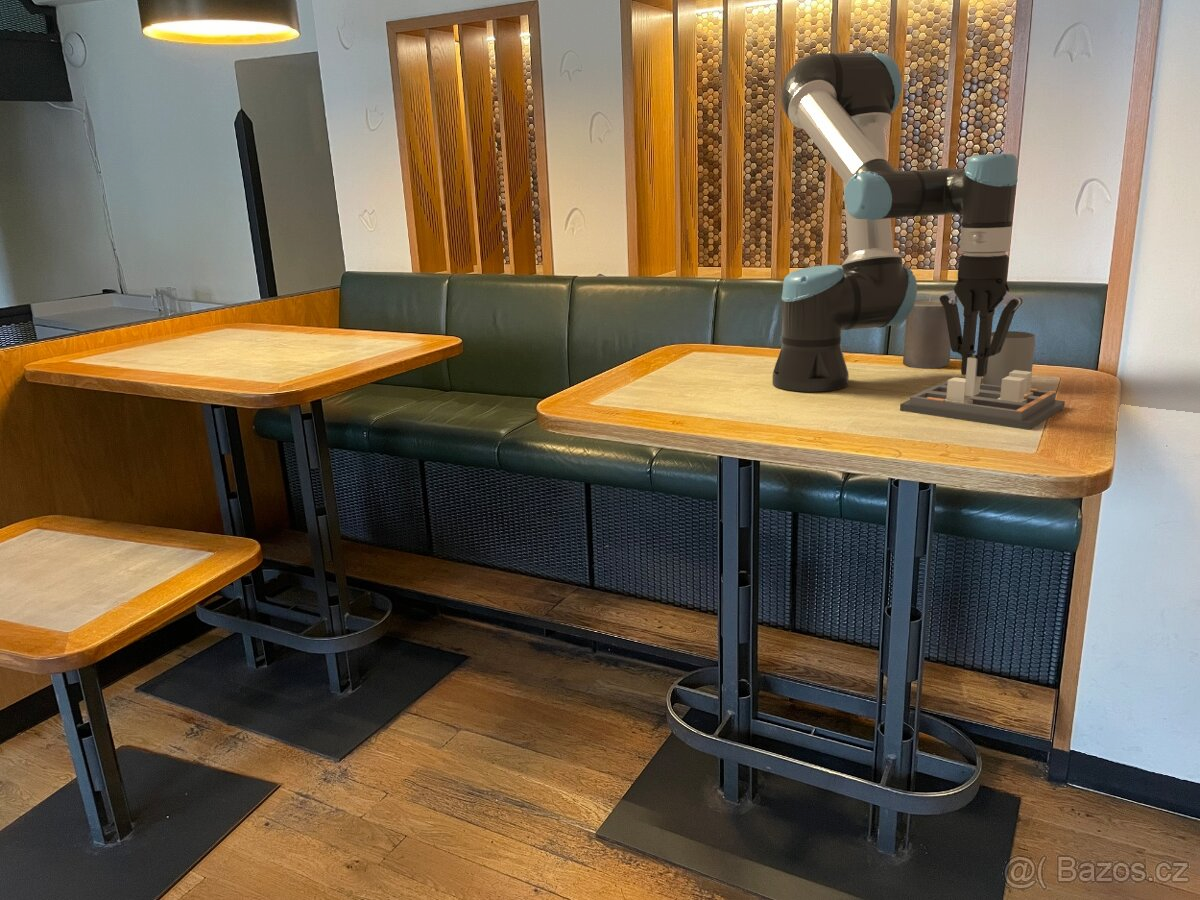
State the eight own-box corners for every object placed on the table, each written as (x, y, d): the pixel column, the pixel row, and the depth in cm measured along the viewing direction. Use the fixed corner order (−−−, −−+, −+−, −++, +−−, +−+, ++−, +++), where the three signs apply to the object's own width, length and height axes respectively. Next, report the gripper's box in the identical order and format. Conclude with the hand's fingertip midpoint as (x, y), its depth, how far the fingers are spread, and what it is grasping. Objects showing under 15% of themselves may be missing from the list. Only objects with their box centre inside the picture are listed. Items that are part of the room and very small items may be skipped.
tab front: (942, 406, 150) (944, 379, 149) (949, 403, 152) (951, 376, 151) (965, 410, 148) (967, 382, 146) (972, 406, 150) (974, 379, 148)
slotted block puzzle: (899, 410, 154) (900, 395, 154) (940, 391, 166) (941, 377, 165) (1029, 429, 140) (1031, 412, 139) (1064, 407, 151) (1066, 392, 150)
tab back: (1003, 398, 154) (1005, 372, 152) (1009, 395, 155) (1011, 369, 154) (1027, 401, 151) (1029, 375, 149) (1032, 398, 153) (1035, 372, 151)
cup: (1034, 390, 163) (1040, 338, 161) (988, 390, 165) (993, 338, 162) (1023, 380, 171) (1028, 330, 168) (979, 380, 173) (983, 331, 170)
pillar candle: (899, 360, 195) (902, 293, 191) (944, 359, 194) (949, 292, 189) (907, 369, 186) (911, 300, 182) (955, 368, 185) (960, 298, 180)
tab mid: (996, 405, 149) (998, 378, 148) (1002, 402, 151) (1004, 375, 150) (1020, 409, 147) (1023, 381, 145) (1026, 405, 149) (1029, 378, 147)
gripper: (935, 254, 143) (925, 393, 150) (1017, 256, 134) (1002, 404, 141) (953, 250, 148) (943, 385, 155) (1034, 252, 139) (1019, 394, 146)
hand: (971, 394), depth 148 cm, fingers closed
